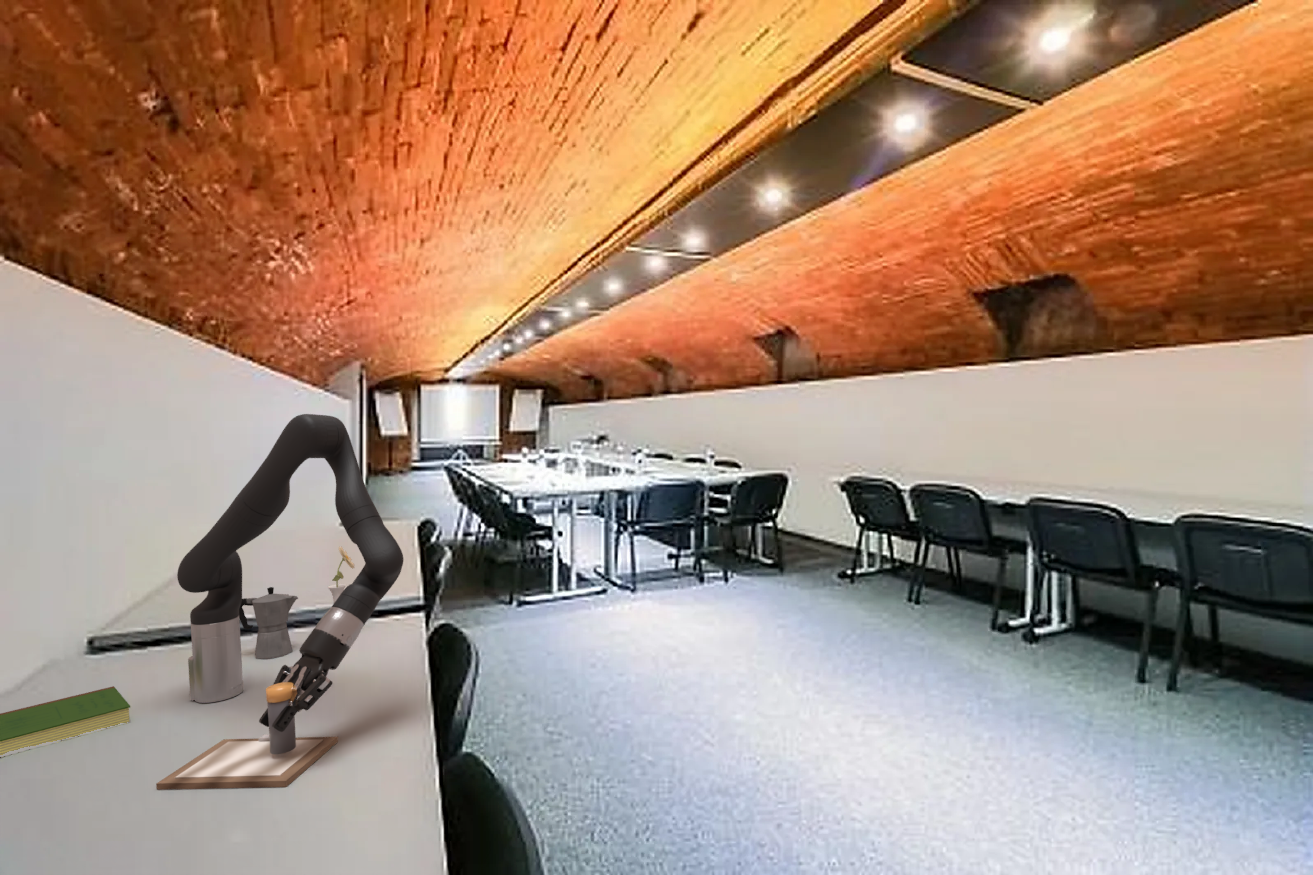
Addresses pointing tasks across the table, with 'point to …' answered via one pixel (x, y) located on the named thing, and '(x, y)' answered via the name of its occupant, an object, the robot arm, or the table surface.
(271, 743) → the orange and grey cylinder
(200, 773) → the clipboard
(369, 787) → the table surface
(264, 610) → the coffeepot
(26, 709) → the hardcover book
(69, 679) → the table surface
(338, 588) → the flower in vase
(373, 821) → the table surface
